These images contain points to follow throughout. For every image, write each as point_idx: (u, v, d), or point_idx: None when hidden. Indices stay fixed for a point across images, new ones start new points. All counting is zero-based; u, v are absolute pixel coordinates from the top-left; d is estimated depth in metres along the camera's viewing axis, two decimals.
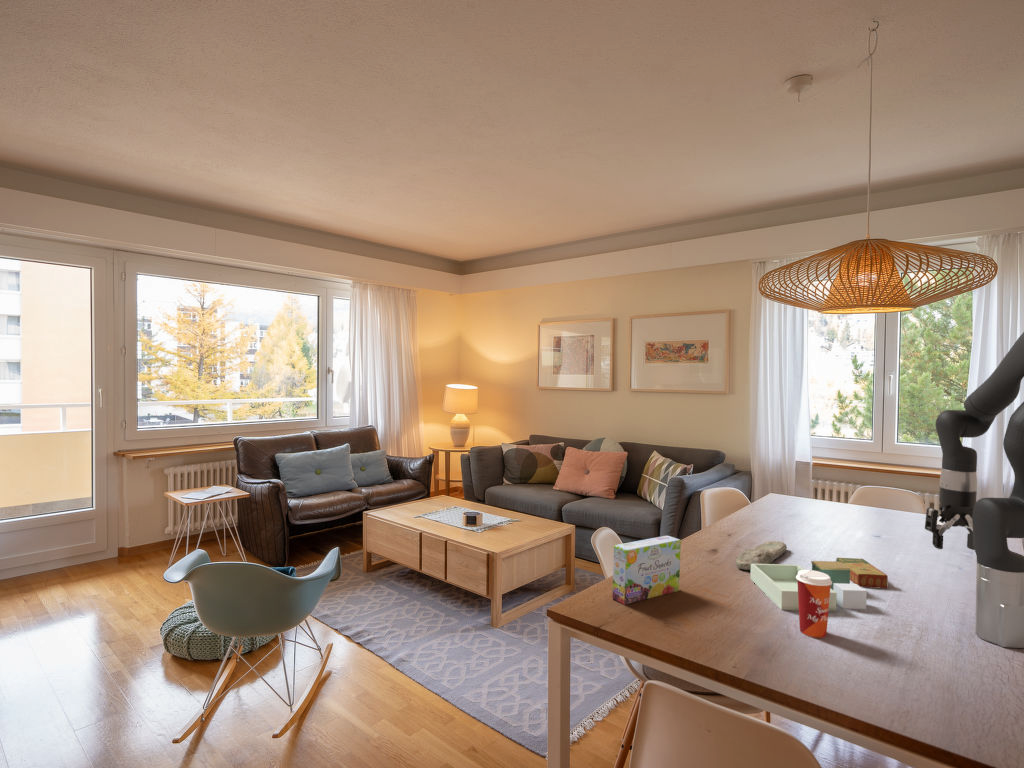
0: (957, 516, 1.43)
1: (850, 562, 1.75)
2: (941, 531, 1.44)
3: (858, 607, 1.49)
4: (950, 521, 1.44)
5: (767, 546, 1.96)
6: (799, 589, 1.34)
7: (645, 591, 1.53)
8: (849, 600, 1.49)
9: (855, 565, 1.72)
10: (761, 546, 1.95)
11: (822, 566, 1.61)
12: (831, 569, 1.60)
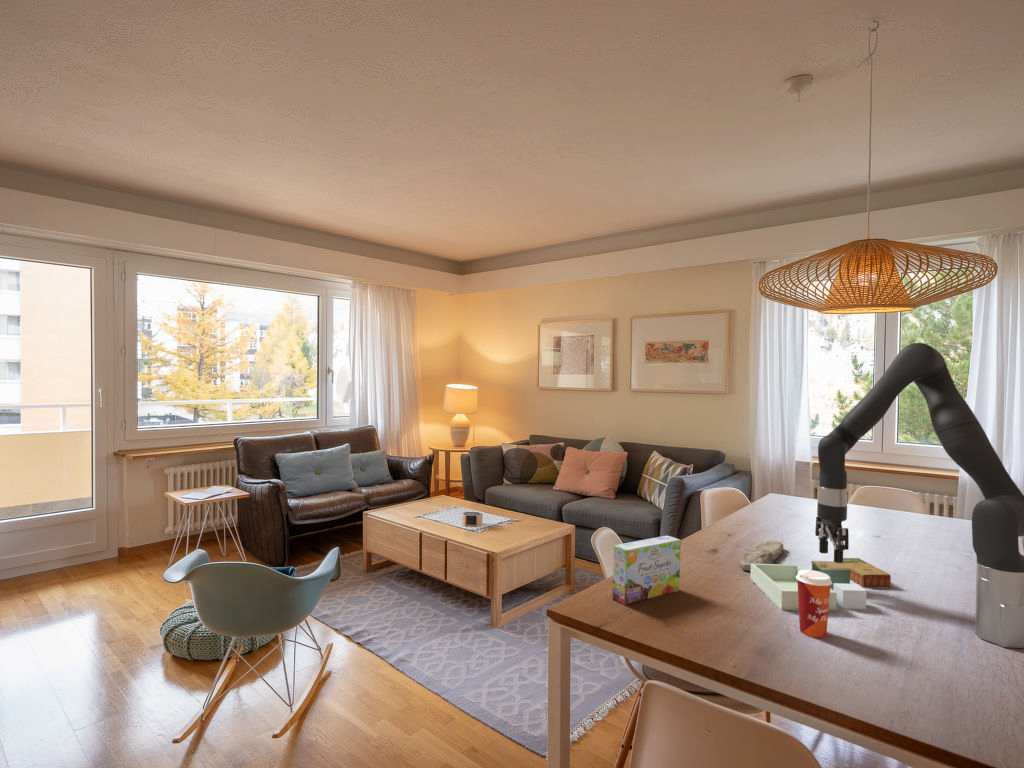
0: None
1: (849, 562, 1.75)
2: None
3: (858, 607, 1.49)
4: None
5: (765, 546, 1.96)
6: (799, 589, 1.34)
7: (645, 591, 1.53)
8: (848, 600, 1.49)
9: (856, 565, 1.72)
10: (760, 546, 1.96)
11: (822, 566, 1.61)
12: (831, 569, 1.60)
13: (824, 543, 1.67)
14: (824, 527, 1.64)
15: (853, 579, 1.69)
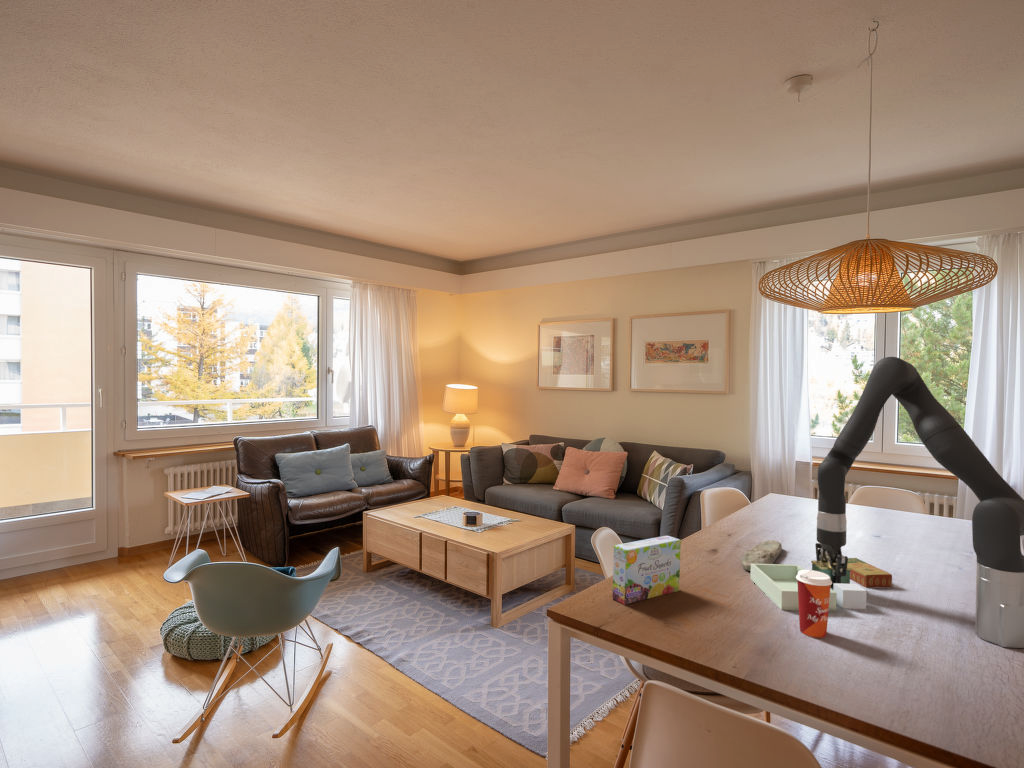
0: None
1: (849, 562, 1.75)
2: None
3: (858, 607, 1.49)
4: None
5: (764, 546, 1.96)
6: (799, 589, 1.34)
7: (645, 591, 1.53)
8: (848, 600, 1.49)
9: (856, 565, 1.72)
10: (759, 546, 1.96)
11: (822, 566, 1.61)
12: None
13: None
14: (824, 551, 1.64)
15: (855, 579, 1.69)
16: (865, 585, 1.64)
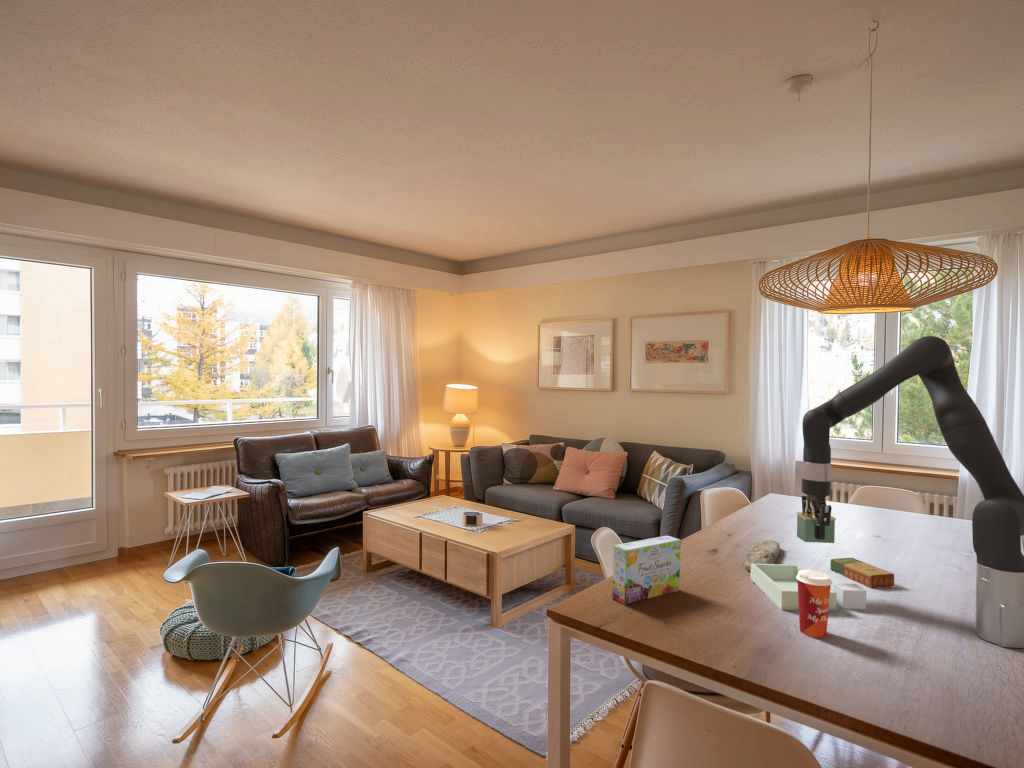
0: None
1: (849, 563, 1.75)
2: None
3: (858, 607, 1.49)
4: None
5: (763, 546, 1.96)
6: (799, 589, 1.34)
7: (645, 591, 1.53)
8: (848, 600, 1.49)
9: (857, 566, 1.72)
10: (758, 546, 1.96)
11: (806, 516, 1.60)
12: (815, 519, 1.59)
13: None
14: (809, 502, 1.62)
15: (857, 580, 1.68)
16: (870, 586, 1.64)
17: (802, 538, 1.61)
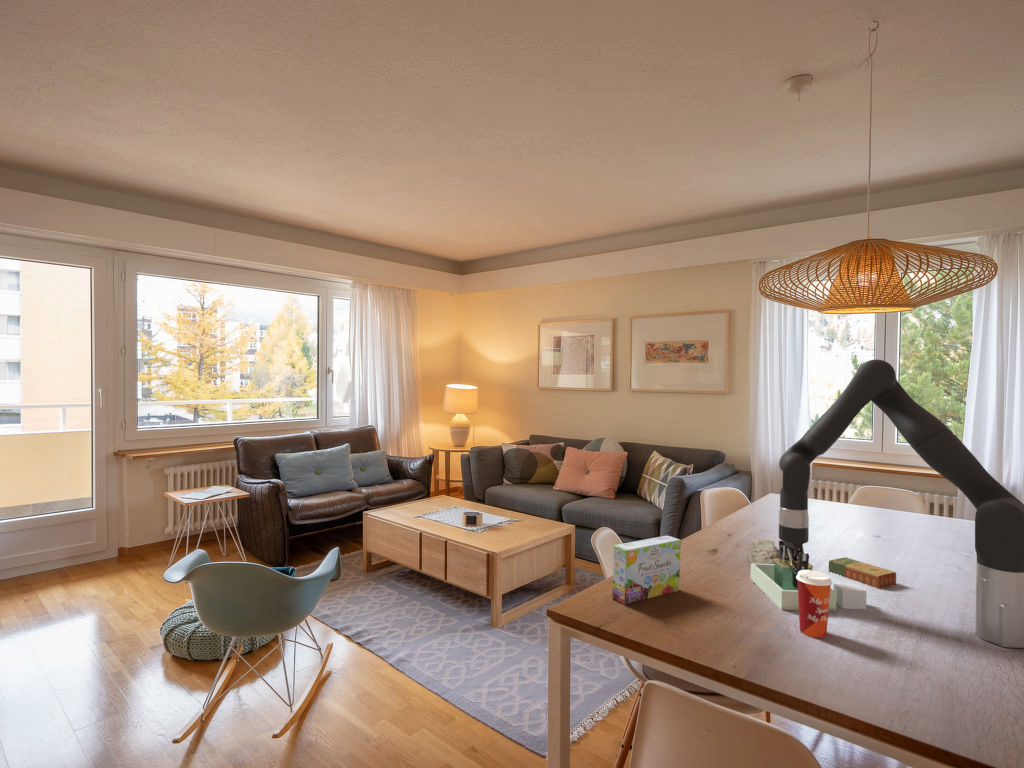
0: None
1: (848, 563, 1.74)
2: None
3: (858, 607, 1.49)
4: None
5: (760, 545, 1.96)
6: (799, 589, 1.34)
7: (645, 591, 1.53)
8: (848, 600, 1.49)
9: (858, 566, 1.71)
10: (756, 546, 1.96)
11: (784, 564, 1.56)
12: None
13: None
14: (786, 549, 1.58)
15: (862, 581, 1.68)
16: (878, 586, 1.63)
17: None
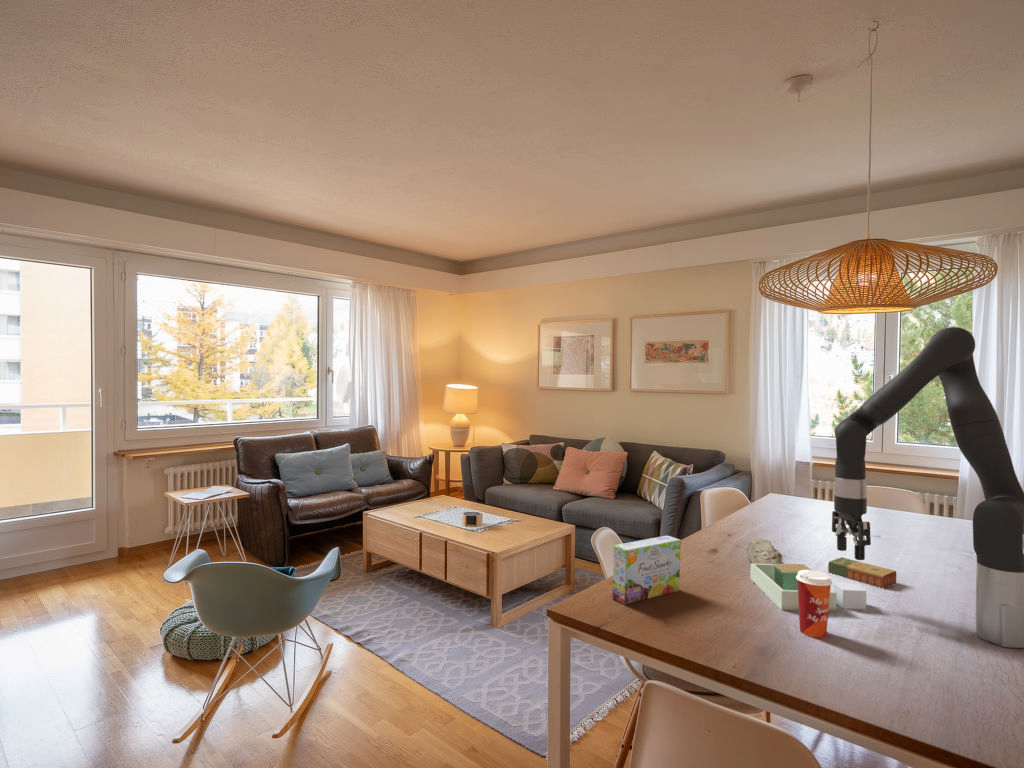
0: None
1: (849, 564, 1.73)
2: None
3: (858, 607, 1.49)
4: None
5: (758, 545, 1.97)
6: (799, 589, 1.34)
7: (645, 591, 1.53)
8: (848, 600, 1.49)
9: (859, 566, 1.71)
10: (754, 546, 1.96)
11: (784, 569, 1.56)
12: (793, 572, 1.55)
13: (842, 539, 1.54)
14: (842, 522, 1.52)
15: (865, 581, 1.67)
16: (882, 586, 1.64)
17: None
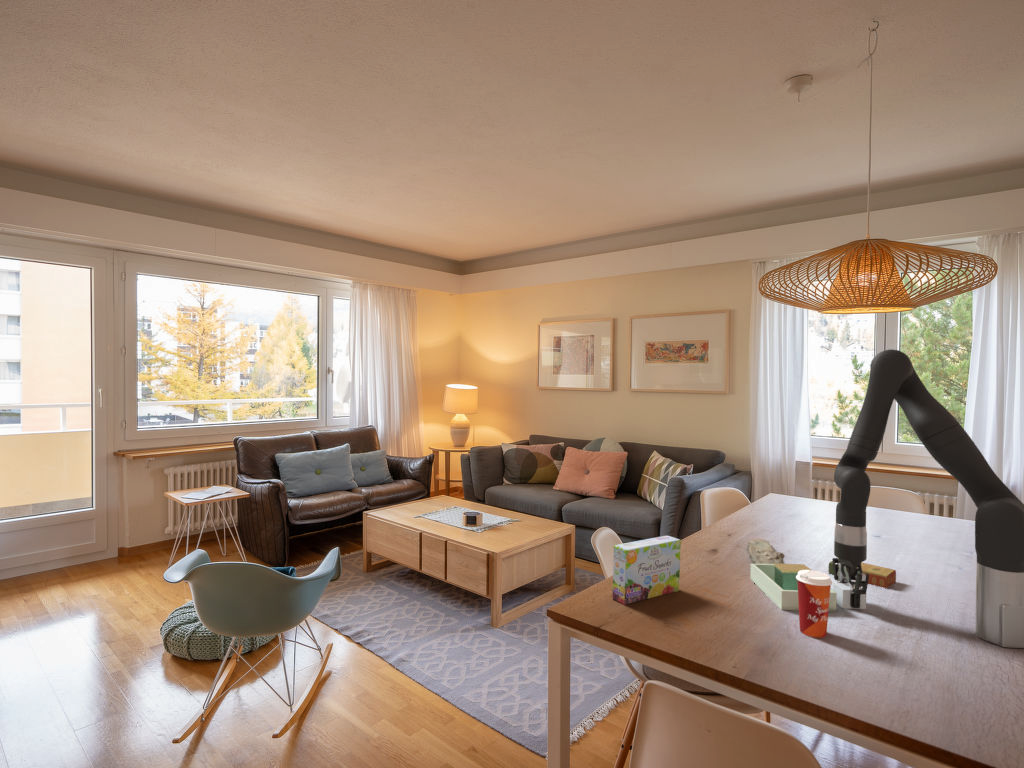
0: None
1: None
2: None
3: None
4: None
5: (758, 545, 1.97)
6: (799, 589, 1.34)
7: (645, 591, 1.53)
8: (848, 600, 1.49)
9: None
10: (754, 546, 1.95)
11: (784, 569, 1.56)
12: (793, 572, 1.55)
13: None
14: (842, 567, 1.52)
15: (868, 581, 1.67)
16: (886, 586, 1.64)
17: None
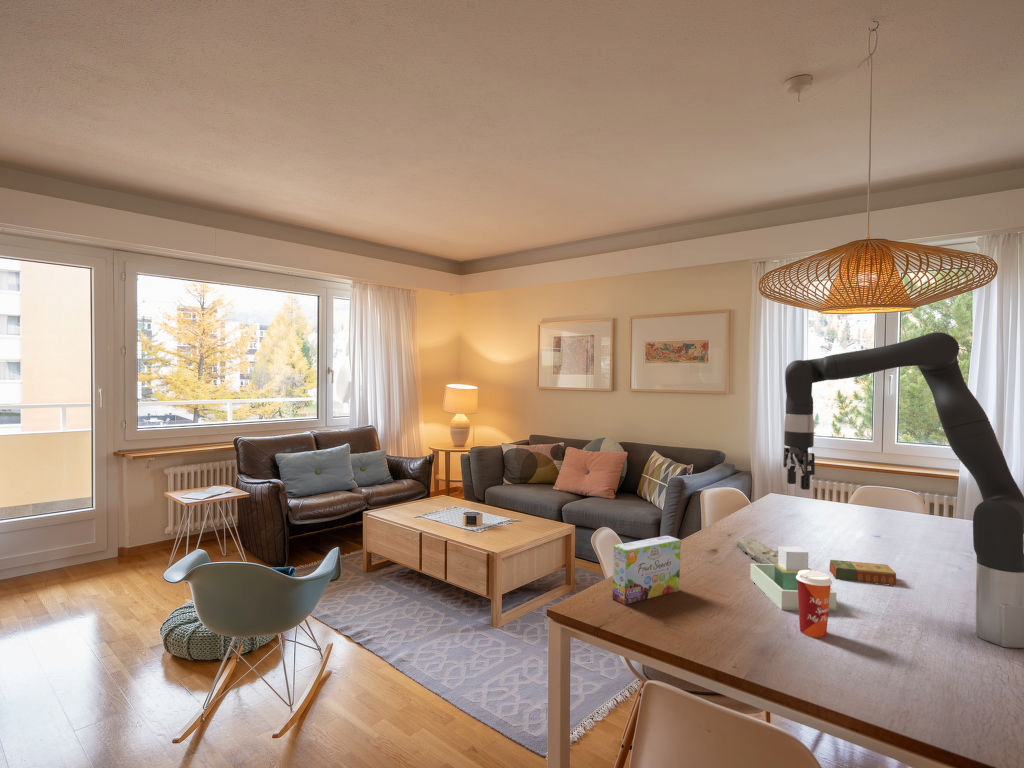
0: None
1: (853, 566, 1.71)
2: None
3: (801, 568, 1.55)
4: None
5: (752, 545, 1.96)
6: (799, 589, 1.34)
7: (645, 591, 1.53)
8: (791, 561, 1.55)
9: (864, 567, 1.71)
10: (750, 547, 1.95)
11: (784, 569, 1.56)
12: (793, 572, 1.55)
13: (792, 473, 1.64)
14: (791, 456, 1.61)
15: (877, 581, 1.67)
16: (895, 583, 1.66)
17: None
